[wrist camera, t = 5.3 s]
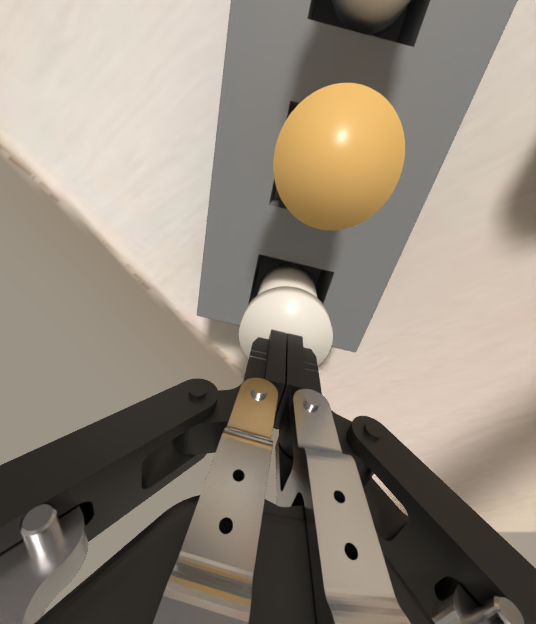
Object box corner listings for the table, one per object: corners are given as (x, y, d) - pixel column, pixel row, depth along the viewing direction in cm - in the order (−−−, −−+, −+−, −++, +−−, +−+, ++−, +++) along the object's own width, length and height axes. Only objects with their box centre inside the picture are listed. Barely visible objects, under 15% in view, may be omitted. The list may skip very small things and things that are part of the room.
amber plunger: (376, 130, 15) (430, 102, 9) (346, 220, 17) (373, 242, 11) (291, 108, 15) (290, 66, 9) (272, 201, 17) (261, 215, 11)
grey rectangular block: (487, -33, 14) (576, -128, 10) (344, 320, 24) (355, 352, 20) (266, -94, 14) (254, -220, 9) (214, 289, 24) (196, 315, 20)
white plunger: (330, 267, 18) (346, 308, 13) (310, 326, 21) (316, 383, 15) (261, 251, 18) (247, 285, 13) (248, 311, 20) (232, 364, 15)
